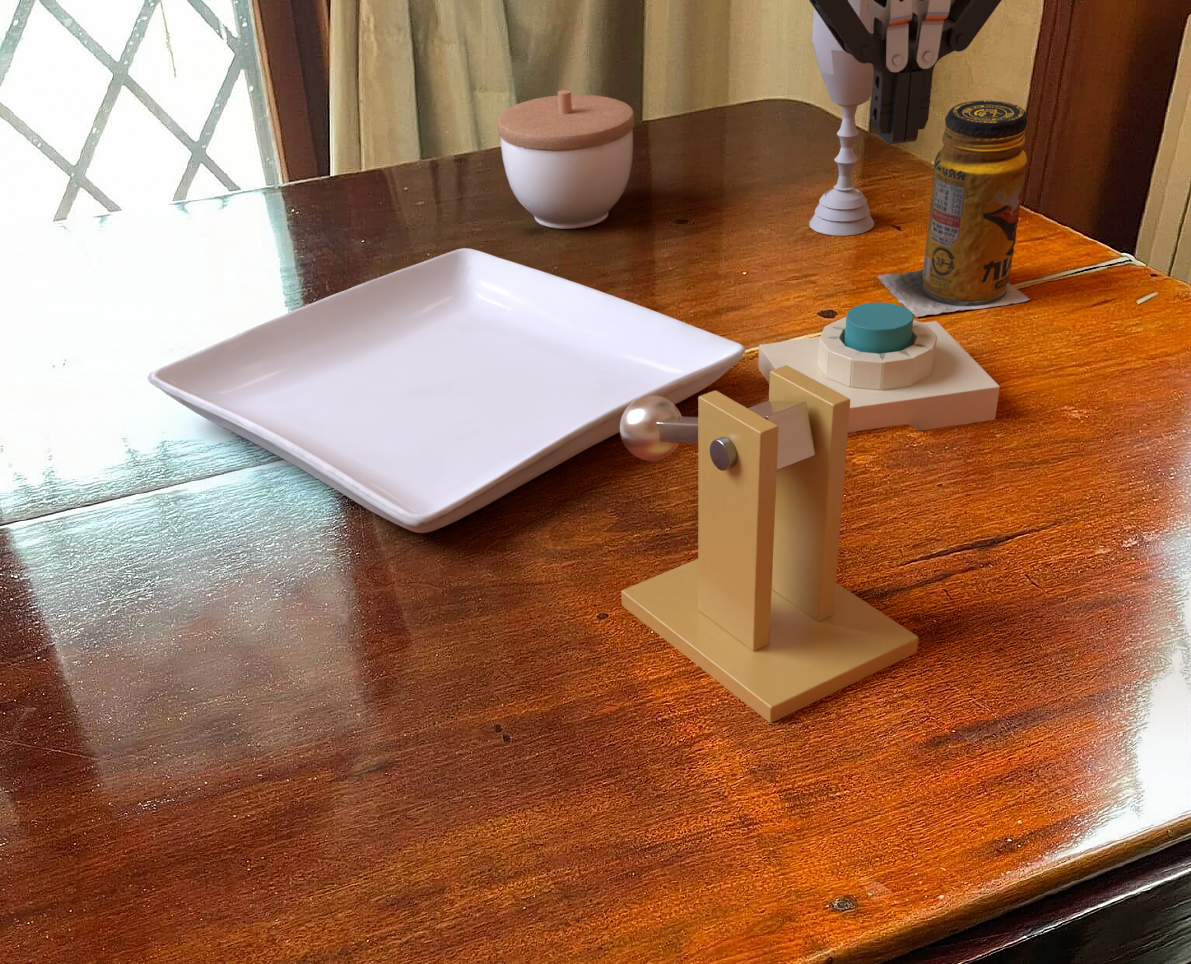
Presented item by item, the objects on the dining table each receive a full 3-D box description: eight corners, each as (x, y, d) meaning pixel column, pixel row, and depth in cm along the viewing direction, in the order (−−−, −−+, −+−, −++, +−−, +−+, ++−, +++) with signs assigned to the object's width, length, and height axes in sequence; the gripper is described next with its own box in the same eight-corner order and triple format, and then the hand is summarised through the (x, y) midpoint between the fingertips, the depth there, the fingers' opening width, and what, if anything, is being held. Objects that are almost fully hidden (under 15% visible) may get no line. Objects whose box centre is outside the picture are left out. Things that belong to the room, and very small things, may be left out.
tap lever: (616, 467, 72) (601, 405, 71) (666, 448, 73) (653, 387, 72) (770, 483, 61) (756, 410, 60) (826, 461, 62) (814, 389, 61)
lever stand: (621, 614, 72) (611, 379, 63) (759, 556, 75) (767, 325, 67) (769, 733, 64) (781, 483, 56) (916, 662, 68) (948, 416, 59)
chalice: (834, 247, 107) (851, -20, 95) (777, 223, 111) (787, -35, 99) (906, 224, 110) (932, -38, 98) (848, 201, 114) (866, -52, 102)
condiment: (1030, 302, 98) (1059, 119, 90) (916, 319, 97) (935, 135, 89) (984, 264, 103) (1008, 88, 95) (876, 280, 102) (891, 103, 94)
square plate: (152, 426, 90) (136, 368, 88) (471, 292, 104) (465, 239, 101) (423, 577, 75) (413, 513, 73) (753, 397, 89) (755, 338, 87)
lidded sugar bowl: (651, 229, 112) (648, 103, 105) (519, 247, 110) (509, 120, 104) (619, 186, 120) (614, 66, 113) (495, 202, 118) (484, 81, 112)
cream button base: (932, 352, 93) (939, 293, 90) (995, 420, 85) (1004, 357, 83) (757, 376, 91) (759, 317, 89) (805, 447, 84) (809, 385, 81)
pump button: (896, 326, 88) (899, 298, 86) (920, 352, 85) (923, 324, 84) (835, 334, 87) (837, 307, 86) (857, 361, 84) (859, 333, 83)
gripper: (1026, -266, 70) (982, 106, 82) (771, -242, 69) (762, 134, 80) (1096, -252, 65) (1038, 145, 76) (820, -226, 63) (804, 175, 74)
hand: (896, 138), depth 78 cm, fingers closed
